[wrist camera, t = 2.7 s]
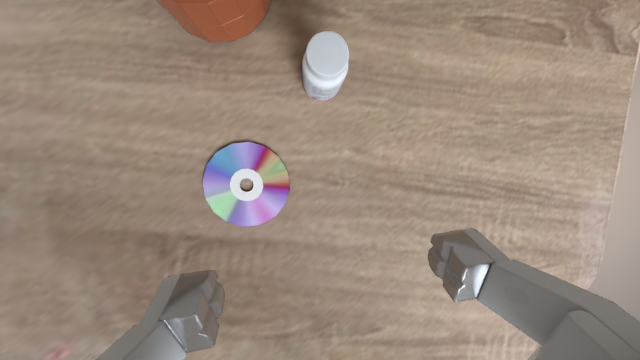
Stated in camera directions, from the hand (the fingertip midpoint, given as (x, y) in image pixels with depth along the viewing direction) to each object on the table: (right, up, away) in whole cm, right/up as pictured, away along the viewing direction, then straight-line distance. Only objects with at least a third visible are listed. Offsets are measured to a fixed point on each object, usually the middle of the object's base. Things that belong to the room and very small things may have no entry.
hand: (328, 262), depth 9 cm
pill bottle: (0, +16, +21) cm, 26 cm away
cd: (-10, +2, +21) cm, 24 cm away
